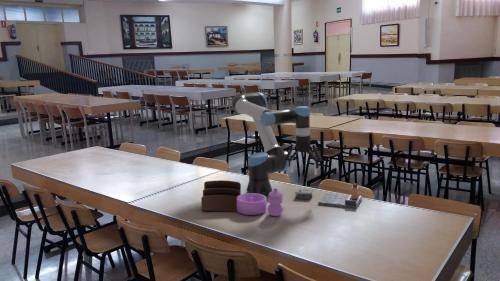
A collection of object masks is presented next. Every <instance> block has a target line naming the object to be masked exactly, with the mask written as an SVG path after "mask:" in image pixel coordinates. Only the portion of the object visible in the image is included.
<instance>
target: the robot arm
mask: <svg viewBox="0 0 500 281" xmlns="http://www.w3.org/2000/svg"><path fill="white" fill-rule="evenodd" d="M230 106H231V108H232V110H233V111H234V112H235V113H236V114H237V113H238V114H240V115H243V114H244V115H246V116H249V117H251V118H252V120H253V123H254V125H255V128H256V130H257V132H258V136H259V138H260V141H261V143H262V146H263V148H264V151H263V152H261V151H260V152H255V153H252V154H250V155H249V156H248V161H247V165H248V184H247V187H246V193H256V194H261V195H264V196H265V197H267V196H268V197H269V193H270V192H272V191H273V187H272V184H271V182H270V174H274V173H280V172H284V171H287V170H288V169H290V174H293V173H294V160H293V159H294V158H295V157H296V155H297V154H298V153H307V154H308V155H309V156H310V157H311V159H313V161H314V165H313V166H314V167H313V168H314V169H313V170H314V174H313V175H317V174H318V169H319V168H320V165H319V163H320V162H322V161H323V158H322V156H321V155H320V152H319V151H318V149H317V144H315V143H314V144H311V134H310V133H311V128H310V126H311V124H310V123H311V119H310V107H309V106H303V105H300V106H296V107H295V108H294V109H292V108H285V109H284V108H283V109H282V110H270V109H268V100H267V97H266V96H265V94H264V93H262V92H260V91H258V92H257V91H254V92H246V93H245V92H244V93H238V94H236V95H235V96H233V97H232V99H231V102H230ZM284 124H285V125H286V124H295V135H296V136H295V143H292V142H291V144H289V145H290V147H289V149H288V151H287V150H284V149H283V147H282V146H280V145H279V144H278V141H277V138H276V135H275V133H274V131H273V129H272V126H278V125H284ZM294 148H296V150H295V151H294ZM311 149H312V150H313V151H312V150H311ZM293 151H294V152H293ZM292 152H293V153H292Z"/></svg>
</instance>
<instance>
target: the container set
mask: <svg viewBox="0 0 500 281" xmlns="http://www.w3.org/2000/svg"><path fill="white" fill-rule="evenodd" d="M237 197H239V198H237V211H238V212H237V213H239V214H242V215H248V216H249V215H250V216H257V215H261V214H264V213H265V212H266V211H267V212H268V213H269V215H270V216H271V217H278V216H280V215H281V214H282V213H283V211H284V210H283V206H282V203H283V194H282V192H281V191H279V189H278V188H272V192H270V193H269V195H268V197H267V196H264V195H261V194H256V193H247V192H246V193H241V195H239V196H237ZM267 198H268V199H267ZM267 202H268V203H269V204H268V206H267Z"/></svg>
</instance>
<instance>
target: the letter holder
mask: <svg viewBox="0 0 500 281" xmlns="http://www.w3.org/2000/svg"><path fill="white" fill-rule="evenodd" d="M241 189H242V187H241V182H239V181H234V180H221V179H220V180H206V181H204V183H203V190H202V196H201V199H200V200H201V201H200V202H201V211H202V212H203V211H206V212H237V213H239V212H238V211H237V198H239V197H237V196H239V195H241V194H242V192H241V191H242V190H241Z"/></svg>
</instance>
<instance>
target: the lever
mask: <svg viewBox="0 0 500 281" xmlns="http://www.w3.org/2000/svg"><path fill="white" fill-rule="evenodd" d="M350 195H351V199H358V198H359V196H360V187H359V186H358V183H352V187H351V189H350Z"/></svg>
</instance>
